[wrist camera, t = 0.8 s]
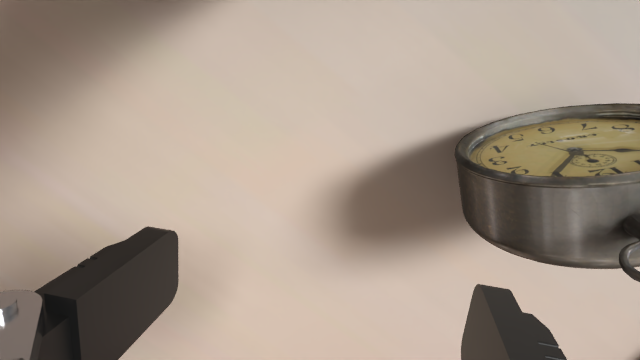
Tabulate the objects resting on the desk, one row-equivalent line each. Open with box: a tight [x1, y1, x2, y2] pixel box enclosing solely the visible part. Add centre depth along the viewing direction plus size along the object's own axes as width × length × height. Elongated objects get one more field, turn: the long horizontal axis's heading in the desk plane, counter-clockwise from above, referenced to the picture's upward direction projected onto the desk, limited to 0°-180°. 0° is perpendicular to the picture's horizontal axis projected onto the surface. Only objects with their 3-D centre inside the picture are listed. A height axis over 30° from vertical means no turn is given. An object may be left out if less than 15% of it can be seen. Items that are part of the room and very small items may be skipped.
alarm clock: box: [455, 103, 640, 282], centre depth 18 cm, size 11×5×16 cm, turn 102°
